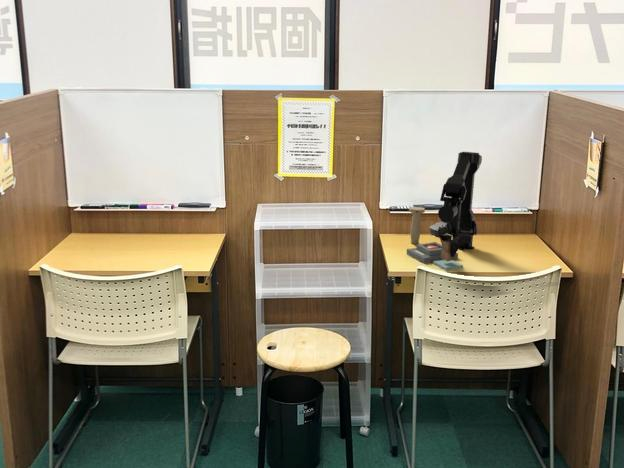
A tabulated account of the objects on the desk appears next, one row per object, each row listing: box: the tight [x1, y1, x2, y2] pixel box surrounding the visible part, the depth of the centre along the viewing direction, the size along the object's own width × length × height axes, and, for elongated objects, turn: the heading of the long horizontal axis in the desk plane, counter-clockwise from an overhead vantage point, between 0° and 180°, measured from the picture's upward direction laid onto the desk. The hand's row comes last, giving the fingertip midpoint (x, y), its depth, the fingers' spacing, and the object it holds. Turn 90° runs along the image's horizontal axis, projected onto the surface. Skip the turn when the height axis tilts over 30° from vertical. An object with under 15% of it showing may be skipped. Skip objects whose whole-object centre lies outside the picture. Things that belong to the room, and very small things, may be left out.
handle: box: [408, 206, 426, 245], centre depth 280 cm, size 5×6×15 cm
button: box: [427, 245, 438, 249], centre depth 266 cm, size 4×4×4 cm
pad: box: [432, 260, 464, 271], centre depth 255 cm, size 8×8×1 cm
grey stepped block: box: [406, 241, 459, 264], centre depth 266 cm, size 16×12×4 cm
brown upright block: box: [441, 238, 457, 261], centre depth 254 cm, size 4×4×7 cm
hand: (448, 255), depth 254 cm, fingers closed on brown upright block, 4 cm apart
